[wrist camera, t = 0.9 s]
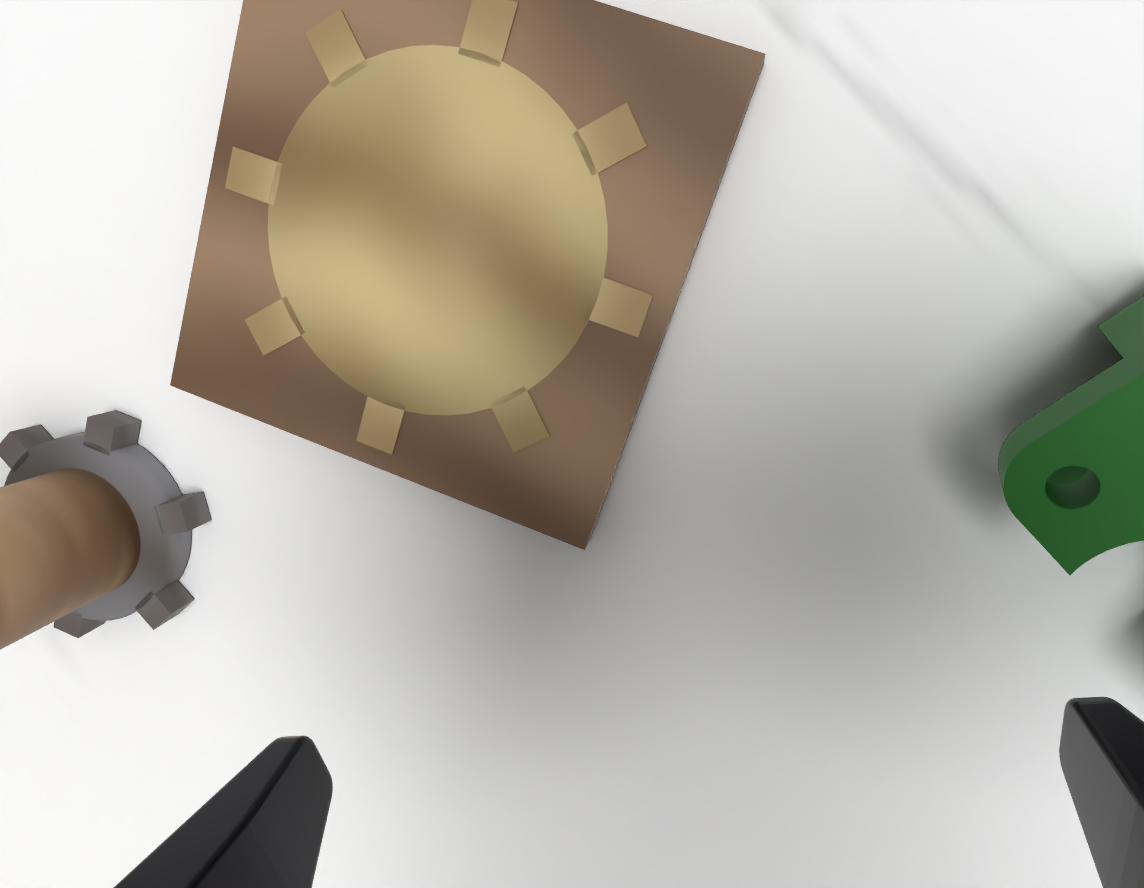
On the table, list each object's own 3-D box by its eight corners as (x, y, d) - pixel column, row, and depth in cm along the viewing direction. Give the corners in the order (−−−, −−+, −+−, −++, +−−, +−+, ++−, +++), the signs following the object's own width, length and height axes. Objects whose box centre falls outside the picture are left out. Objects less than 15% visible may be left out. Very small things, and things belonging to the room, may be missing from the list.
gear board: (590, 538, 24) (583, 550, 23) (191, 380, 26) (168, 385, 25) (763, 63, 21) (765, 52, 20) (283, -88, 22) (261, -105, 21)
